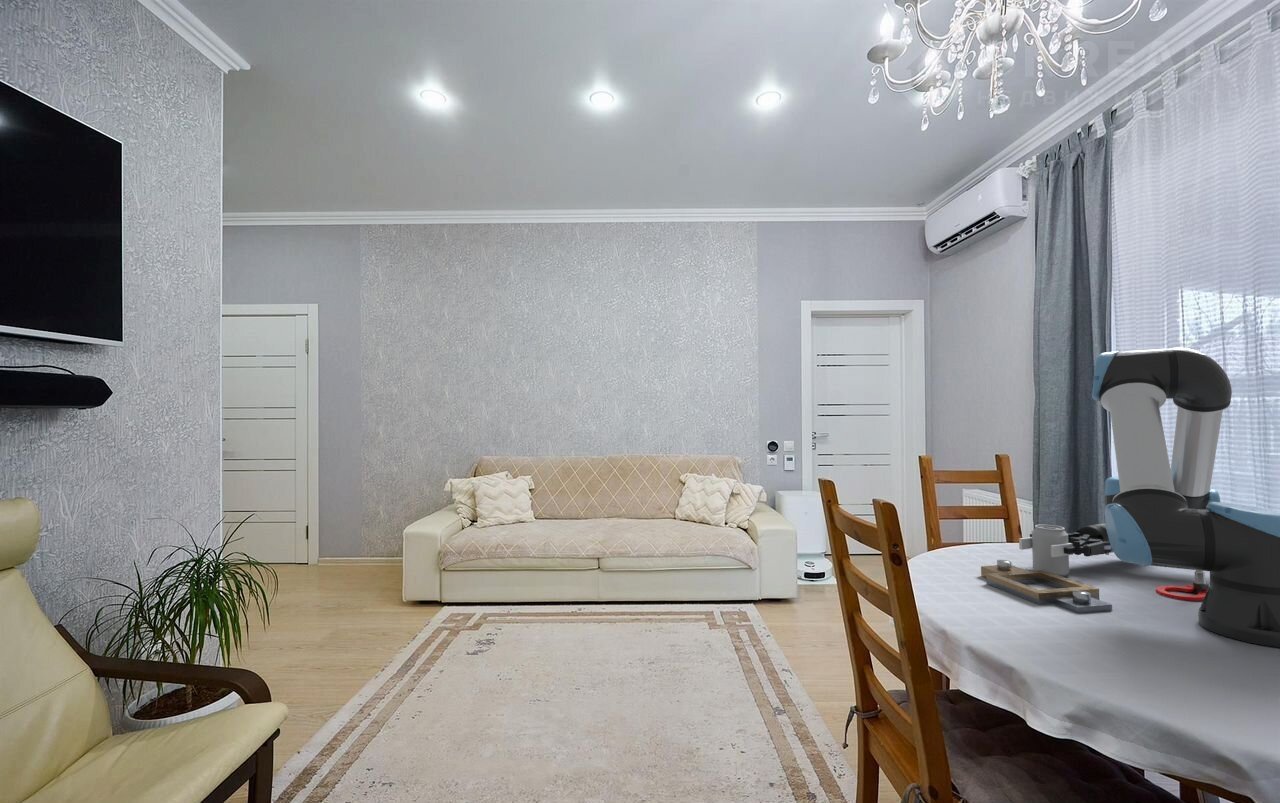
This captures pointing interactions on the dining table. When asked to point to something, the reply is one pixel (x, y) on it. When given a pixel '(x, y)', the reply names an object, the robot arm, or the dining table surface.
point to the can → (1049, 549)
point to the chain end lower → (1076, 603)
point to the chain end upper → (1008, 573)
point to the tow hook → (1187, 589)
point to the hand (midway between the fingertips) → (1036, 547)
